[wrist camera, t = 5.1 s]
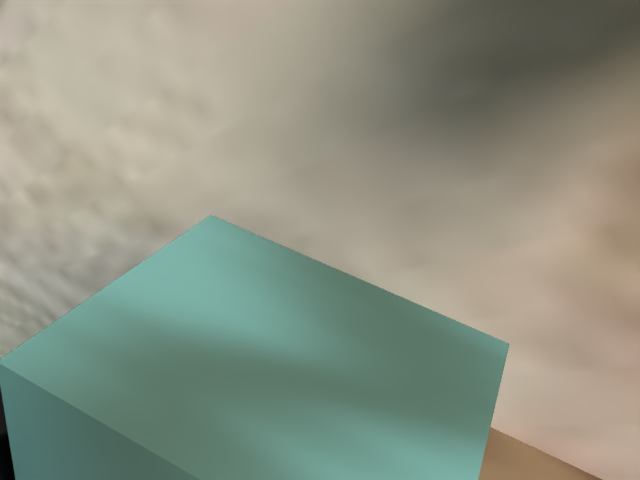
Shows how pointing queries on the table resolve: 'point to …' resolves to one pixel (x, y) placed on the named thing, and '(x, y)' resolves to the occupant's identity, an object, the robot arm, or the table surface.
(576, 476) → the walnut base block
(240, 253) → the teal cube
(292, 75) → the table surface
